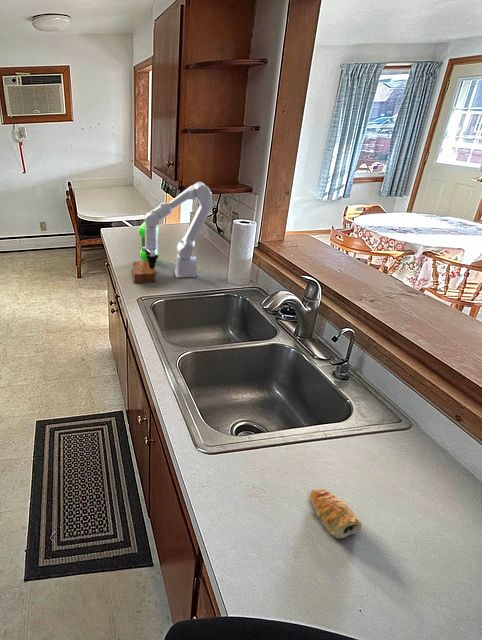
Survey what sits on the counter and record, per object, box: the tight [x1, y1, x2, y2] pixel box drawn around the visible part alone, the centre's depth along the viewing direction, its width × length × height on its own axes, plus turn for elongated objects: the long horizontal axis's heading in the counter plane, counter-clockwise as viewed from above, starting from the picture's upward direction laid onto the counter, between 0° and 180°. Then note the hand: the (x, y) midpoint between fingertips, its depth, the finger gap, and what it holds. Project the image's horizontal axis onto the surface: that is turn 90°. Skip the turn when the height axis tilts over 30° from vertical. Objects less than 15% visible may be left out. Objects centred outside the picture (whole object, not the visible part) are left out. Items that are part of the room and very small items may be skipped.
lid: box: [132, 261, 158, 276], centre depth 187 cm, size 10×16×5 cm
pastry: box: [309, 488, 362, 540], centre depth 77 cm, size 9×7×4 cm
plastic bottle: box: [138, 213, 160, 262], centre depth 203 cm, size 10×10×25 cm
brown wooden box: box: [132, 268, 156, 284], centre depth 189 cm, size 10×16×4 cm, turn 0°
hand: (151, 265), depth 188 cm, fingers open, 7 cm apart
